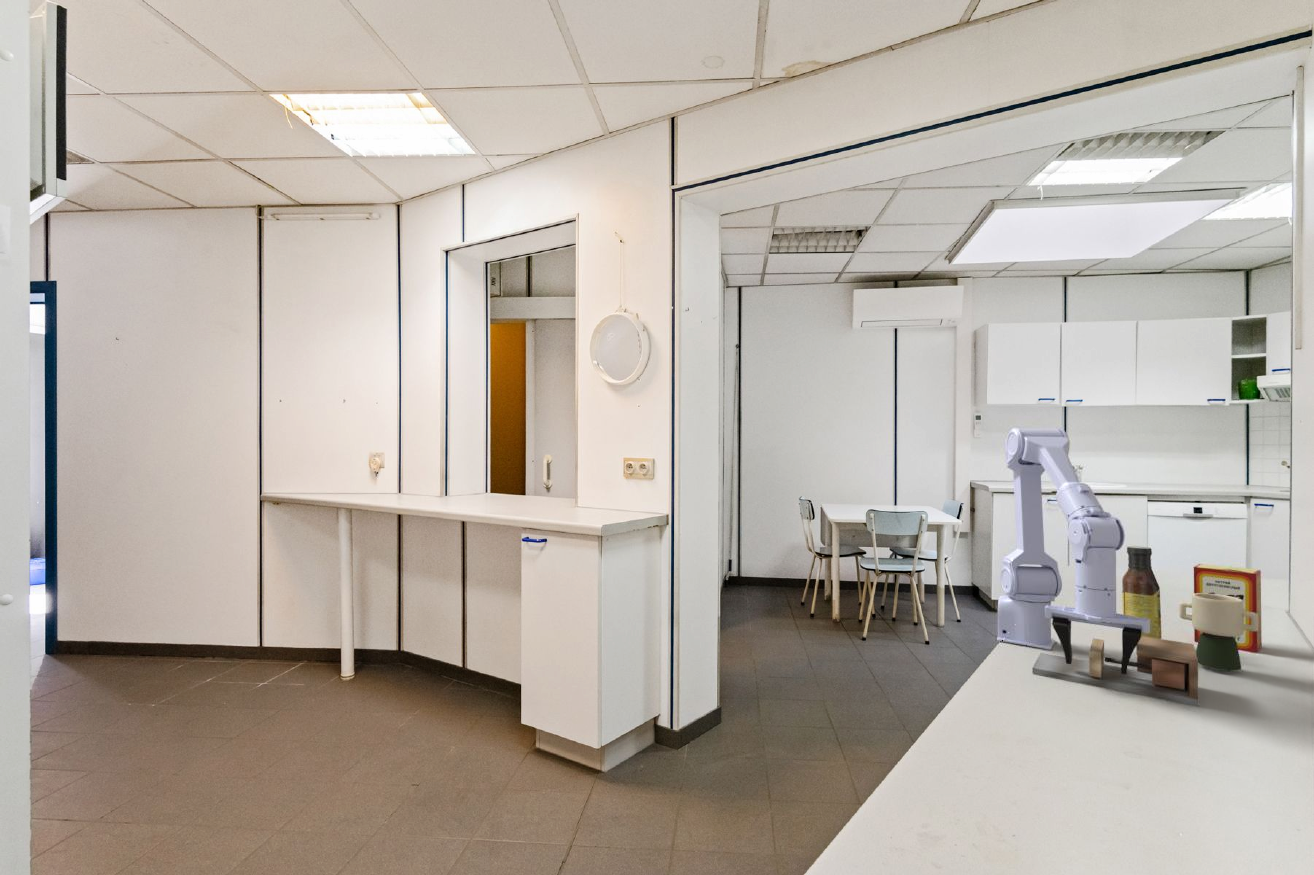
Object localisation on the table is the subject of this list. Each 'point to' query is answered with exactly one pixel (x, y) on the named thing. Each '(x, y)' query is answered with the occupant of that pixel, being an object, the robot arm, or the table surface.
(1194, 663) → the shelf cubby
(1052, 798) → the table surface
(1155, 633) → the sauce bottle
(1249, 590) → the baking soda box
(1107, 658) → the pull block
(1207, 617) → the character mug
